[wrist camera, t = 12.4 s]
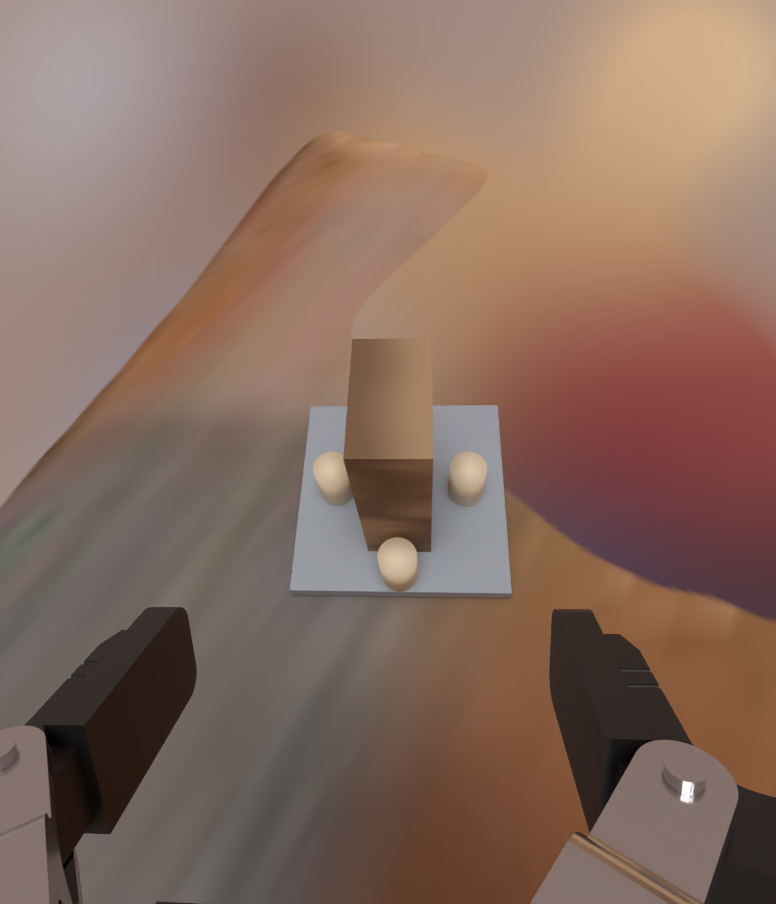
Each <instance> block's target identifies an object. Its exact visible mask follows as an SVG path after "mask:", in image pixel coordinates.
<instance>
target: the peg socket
mask: <svg viewBox="0 0 776 904" xmlns="http://www.w3.org/2000/svg"><path fill="white" fill-rule="evenodd" d="M346 417H347V406H341V407H311V411H310V419H309V428H308V437H307V445H306V454H305V463H304V471H303V480H302V489H301V497H300V506H299V515H298V524H297V532H296V541H295V550H294V558H293V567H292V576H291V584H290V591H291V592H292V594H293V595H329V596H395V597H461V598H510V596H511V594H512V590H511V577H510V564H509V551H508V537H507V524H506V511H505V498H504V485H503V472H502V459H501V446H500V433H499V419H498V407H497V405H487V406H485V405H475V406H433V486H432V529H431V552H417V551H416V549H415V547H414V545H413V544H412V543H411V542H410V541H408V540H407V539H404V538H401V537H395V538H391V539H388V540H386V541H385V542H384V543H383V544H382V545H381V546H380V548H379V550H378V551H368V548H367V544H366V541H365V537H364V533H363V530H362V526H361V522H360V519H359V515H358V511H357V508H356V504H355V500H354V497H353V493H352V489H351V486H350V482H349V478H348V475H347V471H346V467H345V464H344V460H343V455H344V442H345V429H346Z"/></svg>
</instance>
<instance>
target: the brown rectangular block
mask: <svg viewBox="0 0 776 904" xmlns="http://www.w3.org/2000/svg"><path fill="white" fill-rule="evenodd" d="M432 400H433V398H432V338H414V339H413V338H408V339H407V338H406V339H352V352H351V365H350V378H349V391H348V404H347V417H346V429H345V442H344V455H343V460H344V464H345V467H346V471H347V475H348V478H349V482H350V486H351V489H352V493H353V497H354V500H355V504H356V508H357V511H358V515H359V519H360V522H361V526H362V530H363V533H364V537H365V541H366V544H367V548H368V551H378V550H379V548H380V546H381V545H382V544H383V543H384V542H385V541H386V540H388V539H391V538H395V537H401V538H404V539H407V540H408V541H410V542H411V543H412V544H413V545H414V547H415V549H416V551H417V552H431V529H432V486H433V403H432V402H433V401H432Z"/></svg>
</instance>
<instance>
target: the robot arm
mask: <svg viewBox="0 0 776 904" xmlns="http://www.w3.org/2000/svg"><path fill="white" fill-rule="evenodd" d="M195 682H196V662H195V656H194V650H193V644H192V638H191V632H190V626H189V620H188V615H187V612H186V610H185V609H184V608H182V607H149V608H147V609H145V610H144V611H143V612H142V614H141V615H140V616H139V617H138V618H137V619H136V620H135V621H134V623H133V624H132V625H131V626H130V627H129V628H128V629H127V630H121V631H120V632H118V633H117V634H115V635H114V636H112V637H111V638H109V639H107V640H106V641H104V642H103V643H101V644H100V645H99V646H98V647H97V648H96V649H95V650H94V651H93V652H92V653H91V654H90V655H89V656H88V658H87V659H86V660H85V661H84V664H83V665H80V666H79V667H78V668H77V669H76V671H75V672H74V673H73V674H72V675H71V679H67V680H66V681H65V682H64V683H63V685H62V686H61V687H60V688H59V689H58V690H57V691H56V692H55V693H54V694H53V695H52V696H51V697H50V699H49V700H48V701H47V702H46V703H45V704H44V705H43V706H42V707H41V708H40V709H39V710H38V711H37V713H36V714H35V715H34V716H33V717H32V718H31V719H30V720H29V721H28V722H27V723H26V724H25V725H24V726H16V727H11V728H7V729H4V730H1V731H0V904H83V899H82V890H81V882H80V873H79V864H78V858H77V854H76V850H75V846H76V845H77V843H78V842H79V840H80V838H81V837H82V835H83V834H84V833H94V834H111V832H112V830H113V829H114V827H115V825H116V824H117V822H118V820H119V819H120V817H121V815H122V813H123V812H124V810H125V808H126V807H127V805H128V803H129V802H130V800H131V798H132V796H133V795H134V793H135V791H136V790H137V788H138V786H139V785H140V783H141V781H142V779H143V778H144V776H145V774H146V773H147V771H148V769H149V768H150V766H151V764H152V762H153V761H154V759H155V757H156V756H157V754H158V752H159V751H160V749H161V747H162V745H163V744H164V742H165V740H166V739H167V737H168V735H169V734H170V732H171V730H172V728H173V727H174V725H175V723H176V722H177V720H178V718H179V717H180V715H181V713H182V711H183V710H184V708H185V706H186V705H187V703H188V701H189V700H190V698H191V696H192V693H193V691H194V687H195ZM550 689H551V697H552V702H553V706H554V710H555V713H556V717H557V720H558V724H559V727H560V731H561V734H562V738H563V741H564V745H565V748H566V752H567V755H568V759H569V762H570V766H571V769H572V773H573V776H574V780H575V783H576V787H577V790H578V794H579V797H580V801H581V804H582V808H583V811H584V815H585V818H586V822H587V825H588V829H589V832H590V834H589V835H588V836H587V837H586V836H584V835H583V834H581V833H579V832H576V833H575V834H573V835H572V836H571V838H570V839H569V840H568V842H567V843H566V845H565V846H564V848H563V850H562V851H561V853H560V855H559V856H558V858H557V860H556V861H555V863H554V865H553V866H552V868H551V870H550V871H549V873H548V875H547V876H546V878H545V880H544V881H543V883H542V885H541V886H540V888H539V890H538V891H537V893H536V895H535V896H534V898H533V900H532V901H531V903H530V904H776V798H774V797H771V796H767V795H764V794H760V793H757V792H754V791H751V790H748V789H746V788H743V787H741V786H739V785H737V784H736V782H735V780H734V779H733V777H732V775H731V774H730V773H729V771H728V770H727V769H726V768H725V767H724V766H723V765H722V764H721V763H720V762H719V761H718V760H717V759H715V758H714V757H713V756H711V755H710V754H708V753H707V752H705V751H703V750H701V749H699V748H697V747H695V746H693V745H692V743H691V741H690V739H689V738H688V736H687V734H686V732H685V731H684V729H683V727H682V725H681V723H680V722H679V720H678V718H677V716H676V715H675V713H674V711H673V709H672V708H671V706H670V704H669V702H668V700H667V699H666V697H665V695H664V693H663V692H662V690H661V689H660V688H659V684H658V683H657V681H656V679H655V677H654V676H653V674H652V673H650V668H649V667H648V665H647V663H646V661H645V660H644V658H643V656H642V654H641V653H640V651H639V650H638V649H637V648H636V647H635V646H633V645H632V644H631V643H630V642H629V641H627V640H626V639H625V638H624V637H622V636H621V635H620V634H603V633H602V630H601V628H600V626H599V624H598V622H597V620H596V618H595V616H594V614H593V612H592V611H591V610H590V609H554V610H553V613H552V625H551V649H550ZM156 904H194V903H174V902H157V903H156Z"/></svg>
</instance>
